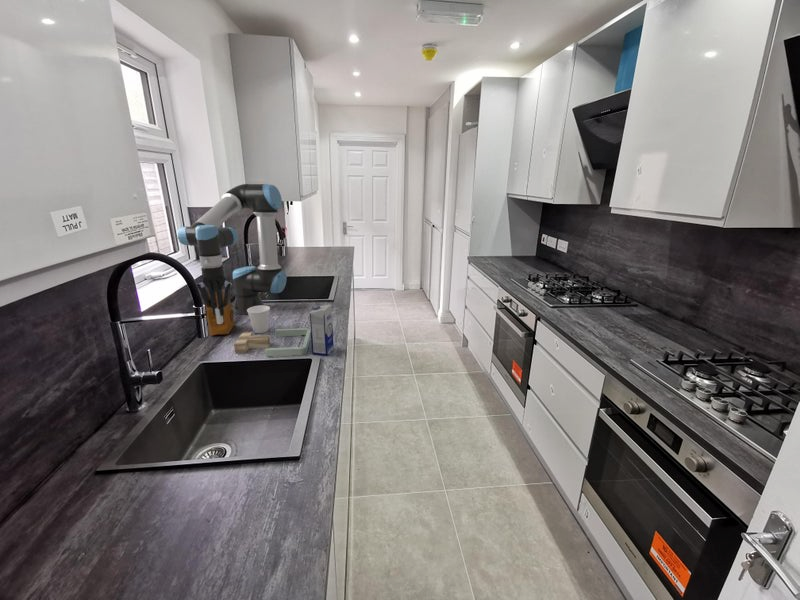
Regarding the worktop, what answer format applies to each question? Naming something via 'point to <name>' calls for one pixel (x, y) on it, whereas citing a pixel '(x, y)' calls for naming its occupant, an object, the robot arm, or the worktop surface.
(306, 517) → the worktop surface
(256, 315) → the cup
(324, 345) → the milk carton
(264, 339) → the t block
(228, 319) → the coffee package
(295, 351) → the dock bay
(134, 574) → the worktop surface
